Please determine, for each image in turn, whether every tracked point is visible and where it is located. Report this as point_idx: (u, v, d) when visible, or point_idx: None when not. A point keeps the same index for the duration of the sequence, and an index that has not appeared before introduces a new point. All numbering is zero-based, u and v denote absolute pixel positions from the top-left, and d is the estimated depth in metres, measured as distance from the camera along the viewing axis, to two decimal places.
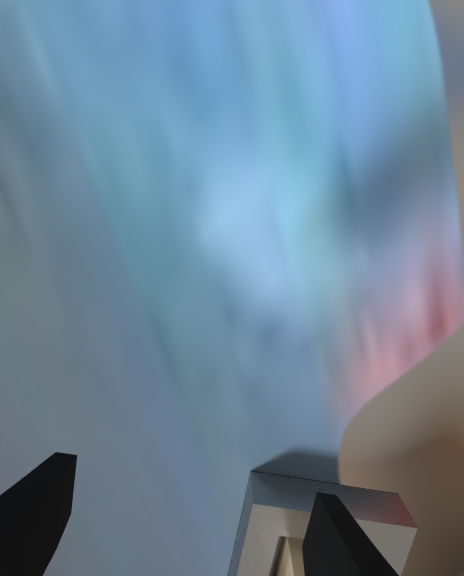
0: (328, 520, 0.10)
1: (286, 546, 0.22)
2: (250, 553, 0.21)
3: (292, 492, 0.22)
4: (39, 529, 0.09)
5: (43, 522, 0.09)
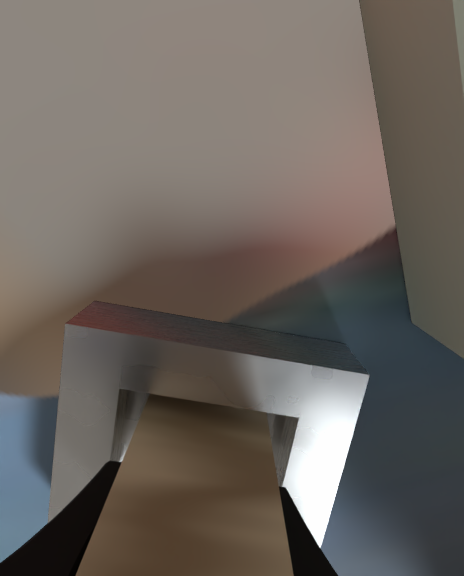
0: None
1: None
2: None
3: None
4: None
5: None
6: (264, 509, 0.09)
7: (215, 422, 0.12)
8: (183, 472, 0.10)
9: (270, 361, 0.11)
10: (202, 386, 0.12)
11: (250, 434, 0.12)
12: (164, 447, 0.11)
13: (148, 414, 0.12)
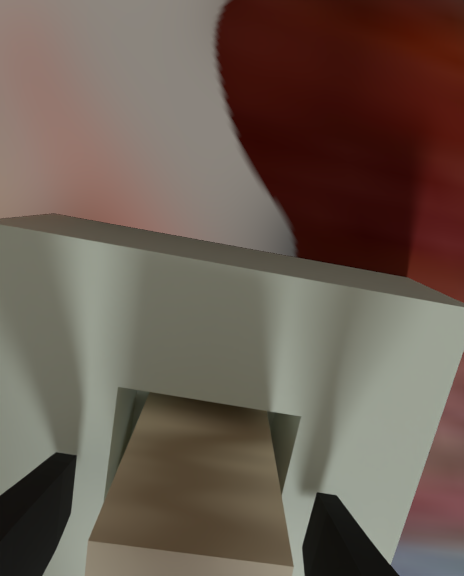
0: (328, 520, 0.10)
1: None
2: None
3: None
4: (39, 529, 0.09)
5: (43, 522, 0.09)
6: (258, 450, 0.11)
7: None
8: (191, 423, 0.12)
9: None
10: None
11: None
12: (174, 406, 0.12)
13: None
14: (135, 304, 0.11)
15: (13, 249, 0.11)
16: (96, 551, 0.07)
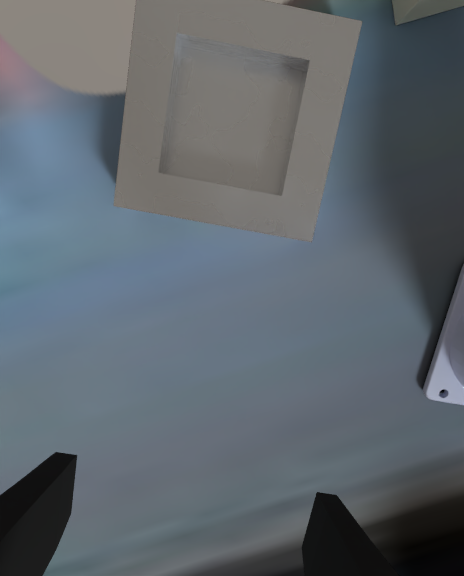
0: (328, 520, 0.10)
1: None
2: (186, 208, 0.17)
3: None
4: (39, 529, 0.09)
5: (43, 522, 0.09)
6: None
7: None
8: None
9: (289, 8, 0.15)
10: (238, 31, 0.16)
11: None
12: None
13: None
14: None
15: None
16: None
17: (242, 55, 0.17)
